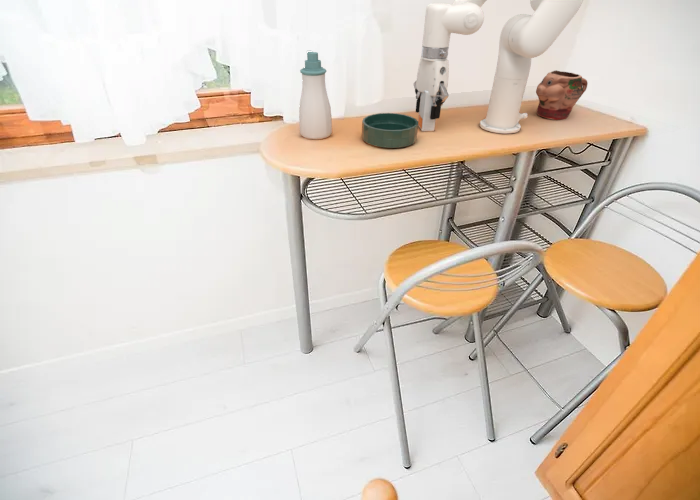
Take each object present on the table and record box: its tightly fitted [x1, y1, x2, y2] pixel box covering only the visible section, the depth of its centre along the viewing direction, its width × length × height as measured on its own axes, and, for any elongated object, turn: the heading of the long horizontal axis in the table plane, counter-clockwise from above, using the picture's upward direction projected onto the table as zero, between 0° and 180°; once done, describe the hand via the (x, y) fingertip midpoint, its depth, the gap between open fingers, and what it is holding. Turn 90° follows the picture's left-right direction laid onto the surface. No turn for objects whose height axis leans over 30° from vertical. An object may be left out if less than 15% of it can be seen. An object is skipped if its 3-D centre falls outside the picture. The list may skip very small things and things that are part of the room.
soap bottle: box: [298, 51, 333, 140], centre depth 115 cm, size 10×10×23 cm
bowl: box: [361, 112, 419, 149], centre depth 118 cm, size 16×16×6 cm
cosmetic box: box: [417, 90, 439, 132], centre depth 124 cm, size 6×4×12 cm
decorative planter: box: [535, 70, 589, 121], centre depth 136 cm, size 20×12×14 cm, turn 114°
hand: (427, 114), depth 125 cm, fingers closed on cosmetic box, 7 cm apart
